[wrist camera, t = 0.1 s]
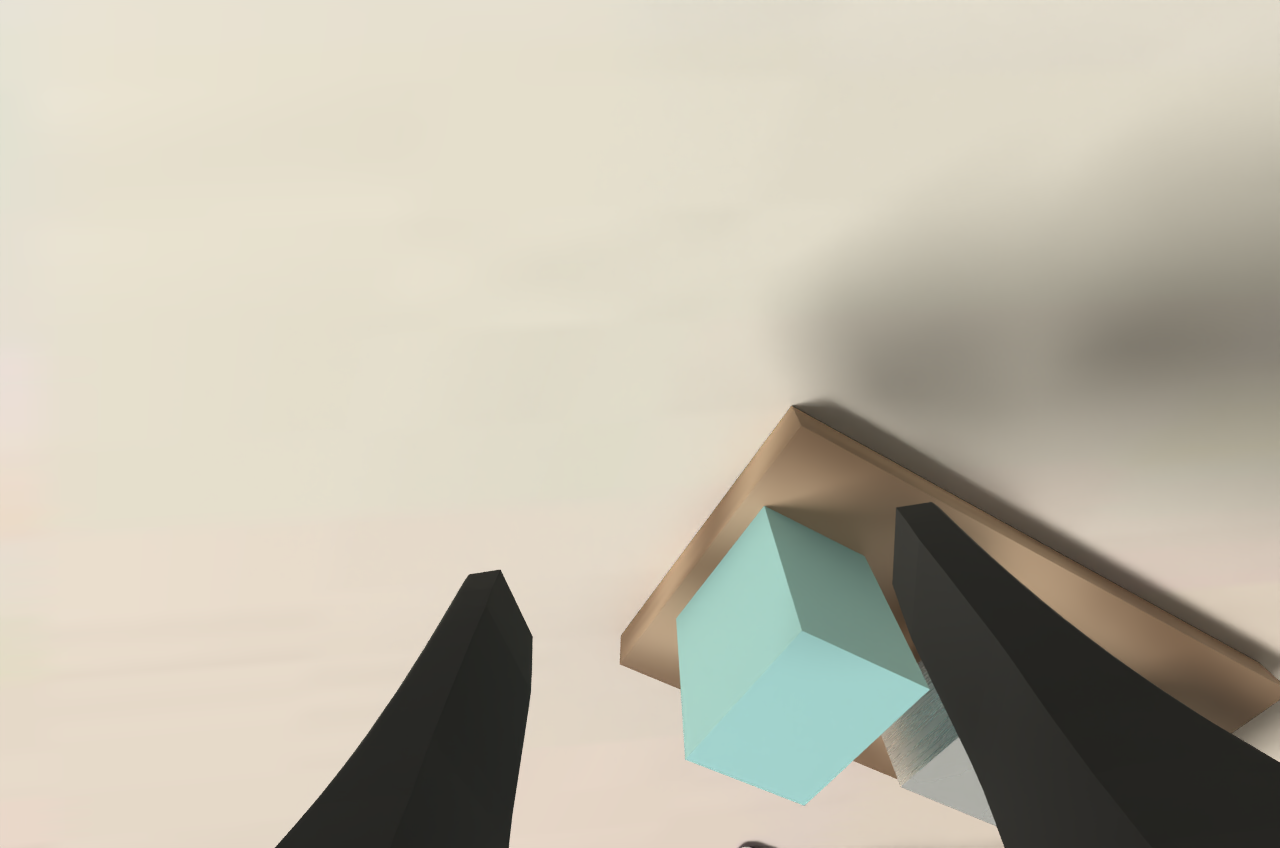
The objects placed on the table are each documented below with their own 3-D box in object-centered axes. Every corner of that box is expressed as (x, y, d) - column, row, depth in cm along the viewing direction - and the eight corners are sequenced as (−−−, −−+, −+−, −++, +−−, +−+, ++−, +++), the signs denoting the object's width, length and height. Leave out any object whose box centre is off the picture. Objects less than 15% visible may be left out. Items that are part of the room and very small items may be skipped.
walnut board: (1047, 817, 32) (1065, 848, 30) (621, 635, 27) (619, 664, 25) (1258, 662, 27) (1291, 691, 26) (791, 406, 22) (801, 425, 21)
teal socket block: (770, 660, 25) (804, 805, 20) (676, 618, 24) (685, 759, 19) (864, 556, 23) (929, 689, 18) (764, 505, 22) (802, 630, 17)
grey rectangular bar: (1123, 819, 26) (1179, 901, 24) (870, 708, 23) (900, 786, 21) (1184, 778, 25) (1249, 858, 22) (926, 655, 22) (965, 731, 20)
